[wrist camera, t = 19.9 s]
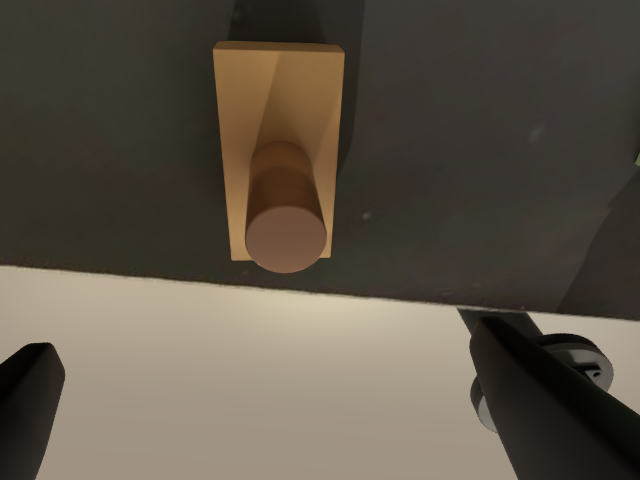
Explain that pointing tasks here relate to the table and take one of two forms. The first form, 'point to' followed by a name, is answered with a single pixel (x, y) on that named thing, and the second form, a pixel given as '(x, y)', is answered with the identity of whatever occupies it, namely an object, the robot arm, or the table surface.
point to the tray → (638, 160)
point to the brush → (279, 148)
